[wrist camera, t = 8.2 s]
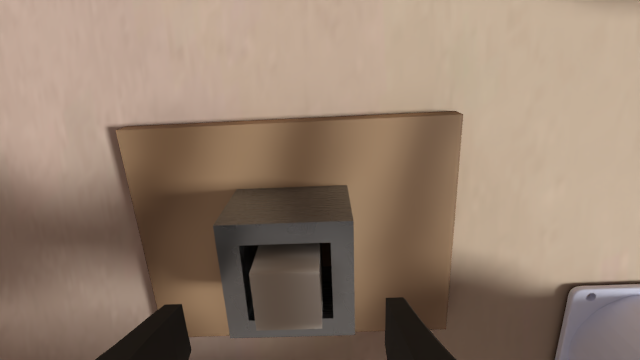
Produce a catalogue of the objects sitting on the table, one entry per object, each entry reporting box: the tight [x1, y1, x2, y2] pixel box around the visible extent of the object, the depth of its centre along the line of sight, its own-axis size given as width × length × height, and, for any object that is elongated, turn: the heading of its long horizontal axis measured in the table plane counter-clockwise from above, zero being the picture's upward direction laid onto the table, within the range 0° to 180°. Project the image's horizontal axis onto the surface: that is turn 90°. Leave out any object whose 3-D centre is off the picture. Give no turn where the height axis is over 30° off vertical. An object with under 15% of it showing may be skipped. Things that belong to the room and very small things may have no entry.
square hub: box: [213, 185, 355, 338], centre depth 17 cm, size 5×5×4 cm
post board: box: [115, 111, 463, 337], centre depth 17 cm, size 16×12×6 cm
